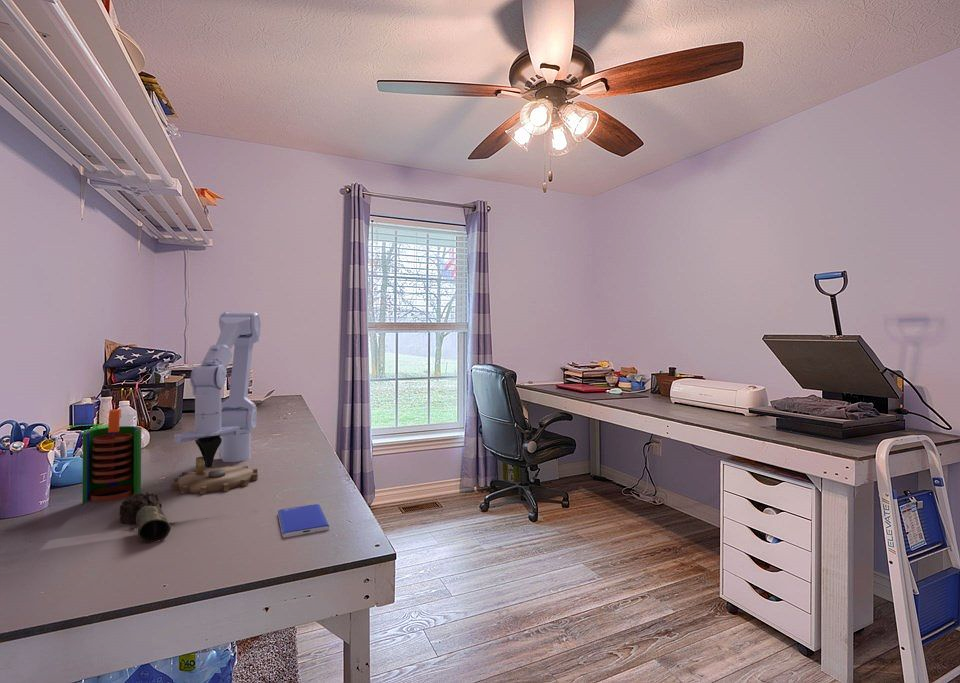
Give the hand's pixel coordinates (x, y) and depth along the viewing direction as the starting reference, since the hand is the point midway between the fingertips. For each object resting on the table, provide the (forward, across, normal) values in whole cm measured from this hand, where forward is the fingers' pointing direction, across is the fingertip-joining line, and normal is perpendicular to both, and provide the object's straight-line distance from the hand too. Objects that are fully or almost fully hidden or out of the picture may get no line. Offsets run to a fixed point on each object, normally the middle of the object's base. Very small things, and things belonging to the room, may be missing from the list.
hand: (208, 466), depth 115 cm
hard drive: (+4, +3, -41) cm, 41 cm away
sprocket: (+3, 0, -5) cm, 6 cm away
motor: (+4, -19, +2) cm, 19 cm away
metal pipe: (+4, -18, -21) cm, 28 cm away
